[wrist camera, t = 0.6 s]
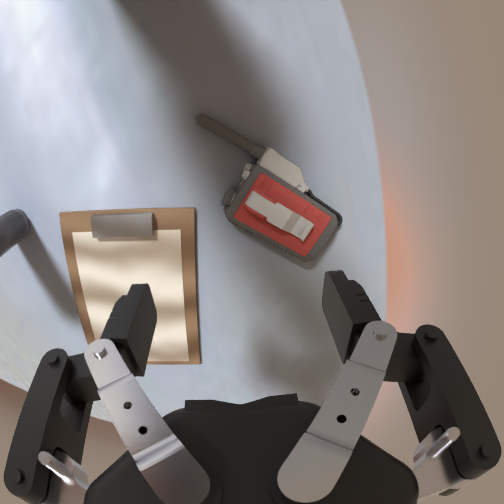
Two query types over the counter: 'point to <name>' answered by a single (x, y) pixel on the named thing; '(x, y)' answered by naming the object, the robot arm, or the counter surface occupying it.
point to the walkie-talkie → (276, 200)
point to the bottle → (12, 229)
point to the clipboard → (136, 272)
